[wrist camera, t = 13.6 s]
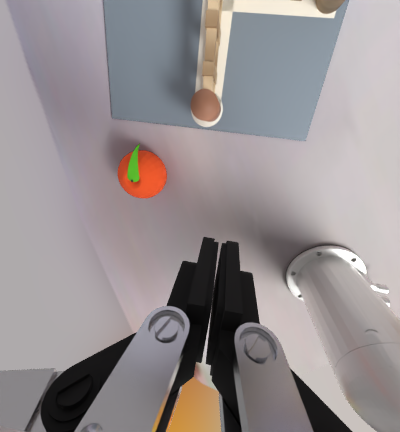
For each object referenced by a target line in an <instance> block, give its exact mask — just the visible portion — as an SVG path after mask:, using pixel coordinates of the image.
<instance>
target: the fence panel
mask: <svg viewBox="0 0 400 432" xmlns="http://www.w3.org/2000/svg"><path fill="white" fill-rule="evenodd" d="M222 3H223V0H208V10H206V18H205V28H206V44H205V60H204V61H203V69H202V76H203V89H200V90H198V91H197V92H196V93H195V94H194V95H193V97H192V99H191V111H192V113H193V115H194V116H195V117H196V118H197V119H199V120H203V121H207V122H212V121H215V120H216V119H217V118H218V117H219V115H220V112H221V106H220V103H219V101H218V99H217V97H216V95H215V86H216V83H217V62H218V51H219V45H220V37H221V29H220V27H221V15H222Z"/></svg>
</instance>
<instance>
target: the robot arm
mask: <svg viewBox="0 0 400 432" xmlns="http://www.w3.org/2000/svg"><path fill="white" fill-rule="evenodd" d="M214 240H215V239H213V238H207V237H204V238H203V241H202V245H201V249H200V253H199V257H198V262H197V263H193V262H188V261H183V262H182V264H181V267H180V270H179V273H178V276H177V278H176V281H175V284H174V287H173V289H172V292H171V295H170V298H169V300H168V303H167V306H163V307H160V308H157V309H155V310H154V311H152V312H151V313H150V314H149V315H148V316H147V318H146V319H145V321H144V322H143V324H142V325H141V327H140V328H139V330H138V332H136V333H134V334H132V335H130V336H129V337H127V338H125V339H123V340H121V341H119V342H117V343H115V344H113V345H111V346H109V347H108V348H106V349H104V350H102V351H100V352H98V353H96V354H94V355H93V356H91V357H89V358H87V359H85V360H83V361H81V362H79V363H77V364H75V365H74V366H72V367H70V368H69V369H67V370H66V371H59V372H56V369H55V368H51V369H30V370H9V371H0V432H168V430H169V426H170V423H171V420H172V417H173V414H174V411H175V408H176V405H177V402H178V399H179V395H180V392H181V389H182V385H184V384H185V383H186V382H187V381H189V380H190V379H191V378H192V377H194V370H195V364H196V362H199V363H201V362H202V357H203V351H204V346H205V340H206V335H207V329H208V324H209V319H210V313H211V319H210V328H209V338H208V347H207V356H206V364H208V365H211V371H210V375H212V382H213V383H214V385H215V387H216V388H217V390H218V391H219V405H220V420H221V432H352V431H351V430H350V429H349V428H348V427H347V426H346V425H345V424H344V423H343V422H342V421H341V420H340V419H339V418H338V417H337V416H336V415H335V414H334V413H333V412H332V411H331V409H330V408H328V406H327V405H326V404H325V403H324V402H323V401H322V400H321V399H320V398H319V397H318V396H317V395H316V394H315V393H314V392H313V391H312V390H311V389H310V388H309V387H308V386H307V385H306V384H305V383H304V382H303V381H302V380H301V379H300V378H299V377H298V376H297V375H296V374H295V373H294V372H293V371H292V370H291V369H290V367H289V364H288V362H287V359H286V356H285V354H284V351H283V348H282V346H281V344H280V342H279V340H278V338H277V337H276V336H275V335H274V333H273V332H272V331H270V330H269V329H268V328H267V327H265V326H263V325H261V324H260V322H259V315H258V309H257V302H256V295H255V288H254V281H253V275H252V273H250V272H244V271H240V260H239V244H238V242H232V241H227V242H226V244H225V243H222V246H221V251H220V257H219V262H218V268H217V273H216V279H215V271H216V262H217V253H218V243H219V242H214ZM366 275H367V271H366V267H365V265H364V263H363V261H362V260H361V259H360V258H359V257H358V256H357V255H356V254H355V253H354V252H352V251H350V250H348V249H346V248H343V247H339V246H319V247H315V248H312V249H309V250H307V251H305V252H303V253H301V254H300V255H298V256H297V257H296V258H295V259H294V260H293V261H292V262H291V264H290V265H289V267H288V269H287V273H286V281H287V284H288V287H289V289H290V291H291V292H292V294H293V295H294V296H295V297H297V298H298V299H300V300H302V301H303V302H304V303H305V305H306V307H307V310H308V312H309V314H310V317H311V319H312V322H313V324H314V326H315V329H316V331H317V334H318V336H319V338H320V341H321V343H322V346H323V348H324V350H325V353H326V355H327V358H328V360H329V362H330V365H331V367H332V369H333V372H334V374H335V377H336V379H337V382H338V384H339V386H340V389H341V391H342V393H343V395H344V396H345V398H346V400H347V401H348V403H349V404H350V406H351V407H352V408H353V410H355V412H356V413H357V414H358V415H359V416H360V417H361V418H362V419H363V420H364V421H365V422H366V423H367V424H368V425H370V426H371V427H372V428H373V429H374V430H376V431H377V432H400V319H399V318H398V316H397V315H396V314H395V313H394V312H393V311H392V310H391V308H390V300H389V299H388V298H387V297H386V296H381V295H378V294H377V293H382V294H387V293H388V291H389V289H388V287H387V286H386V285H381V284H373V283H372V282H371V281H370V280H369V279H368V277H367V276H366ZM214 280H215V285H214ZM213 290H214V291H213ZM212 299H213V300H212ZM211 307H212V310H211Z"/></svg>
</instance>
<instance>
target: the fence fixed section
mask: <svg viewBox="0 0 400 432" xmlns="http://www.w3.org/2000/svg"><path fill="white" fill-rule="evenodd" d="M294 1H302V0H294ZM344 1H345V0H316V6H317V9H318V10H319V11H320V12H321V13H323V14H330V13H332V12H334V11H336V10H337V9H338V8H339V7H340V6H341V5H342V4H343V3H344Z"/></svg>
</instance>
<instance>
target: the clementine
mask: <svg viewBox="0 0 400 432" xmlns="http://www.w3.org/2000/svg"><path fill="white" fill-rule="evenodd" d="M139 145H140V144H139ZM139 145H138V146H137V147H136V148H135V150H134V151H133V152H130V153H129V154H127V155H126V156H125V157H124V158H123V159H122V160H121V162H120V165H119V167H118V179H119V182H120V184H121V186H122V187H123V189H124V190H125V191H126V192H127V193H128V194H130V195H132V196H134V197H138V198H150V197H153V196H155V195H156V194H158V193H159V192H160V191H161V190H162V189H163V187H164V185H165V183H166V179H167V173H166V168H165V165H164V164H163V162H162V161H161V159H160V158H159V157H158V156H157V155H155V154H153V153H152V152H149V151H145V150H138V148H139Z"/></svg>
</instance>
